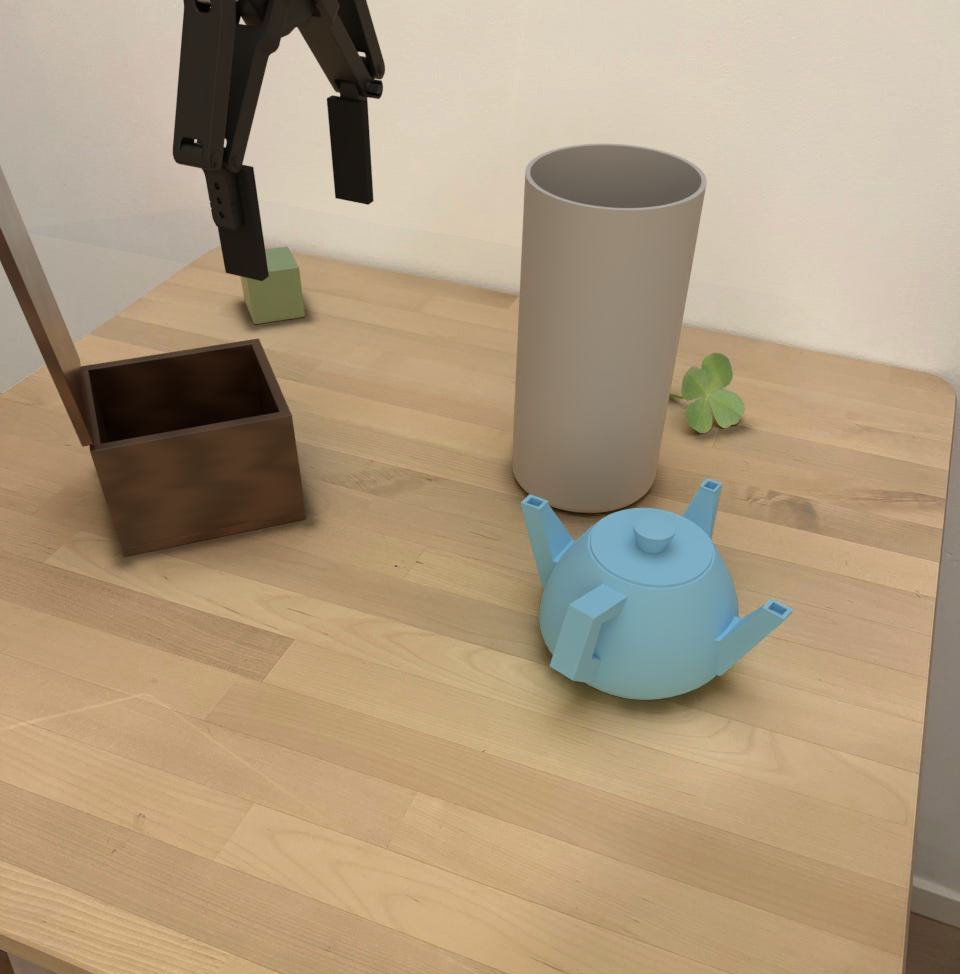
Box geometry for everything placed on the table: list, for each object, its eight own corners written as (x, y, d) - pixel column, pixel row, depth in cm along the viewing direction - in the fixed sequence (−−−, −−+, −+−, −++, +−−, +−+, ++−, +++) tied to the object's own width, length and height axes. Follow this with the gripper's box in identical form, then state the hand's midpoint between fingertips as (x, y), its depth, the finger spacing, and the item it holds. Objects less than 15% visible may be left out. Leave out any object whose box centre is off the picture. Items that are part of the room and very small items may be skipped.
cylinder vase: (662, 519, 80) (720, 211, 62) (512, 516, 80) (527, 208, 62) (646, 435, 89) (692, 145, 71) (510, 432, 89) (523, 142, 71)
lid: (-5, 154, 65) (-17, 156, 65) (-1, 225, 57) (-15, 228, 57) (80, 360, 77) (70, 362, 77) (93, 444, 68) (82, 447, 68)
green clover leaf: (684, 452, 96) (729, 450, 90) (626, 412, 92) (670, 407, 86) (711, 387, 96) (759, 381, 90) (655, 345, 92) (701, 336, 87)
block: (244, 302, 106) (236, 252, 102) (293, 295, 108) (287, 246, 104) (254, 324, 103) (246, 274, 99) (305, 316, 104) (299, 267, 100)
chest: (274, 437, 88) (258, 337, 81) (306, 518, 79) (292, 415, 72) (108, 468, 84) (76, 366, 77) (123, 557, 76) (90, 451, 69)
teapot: (511, 578, 75) (517, 462, 67) (699, 562, 76) (726, 447, 69) (550, 730, 64) (562, 612, 56) (767, 707, 66) (807, 590, 58)
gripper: (168, -147, 41) (246, 326, 56) (430, -194, 57) (436, 182, 72) (29, -159, 43) (140, 300, 58) (319, -201, 59) (347, 165, 74)
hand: (304, 235), depth 65 cm, fingers open, 13 cm apart
